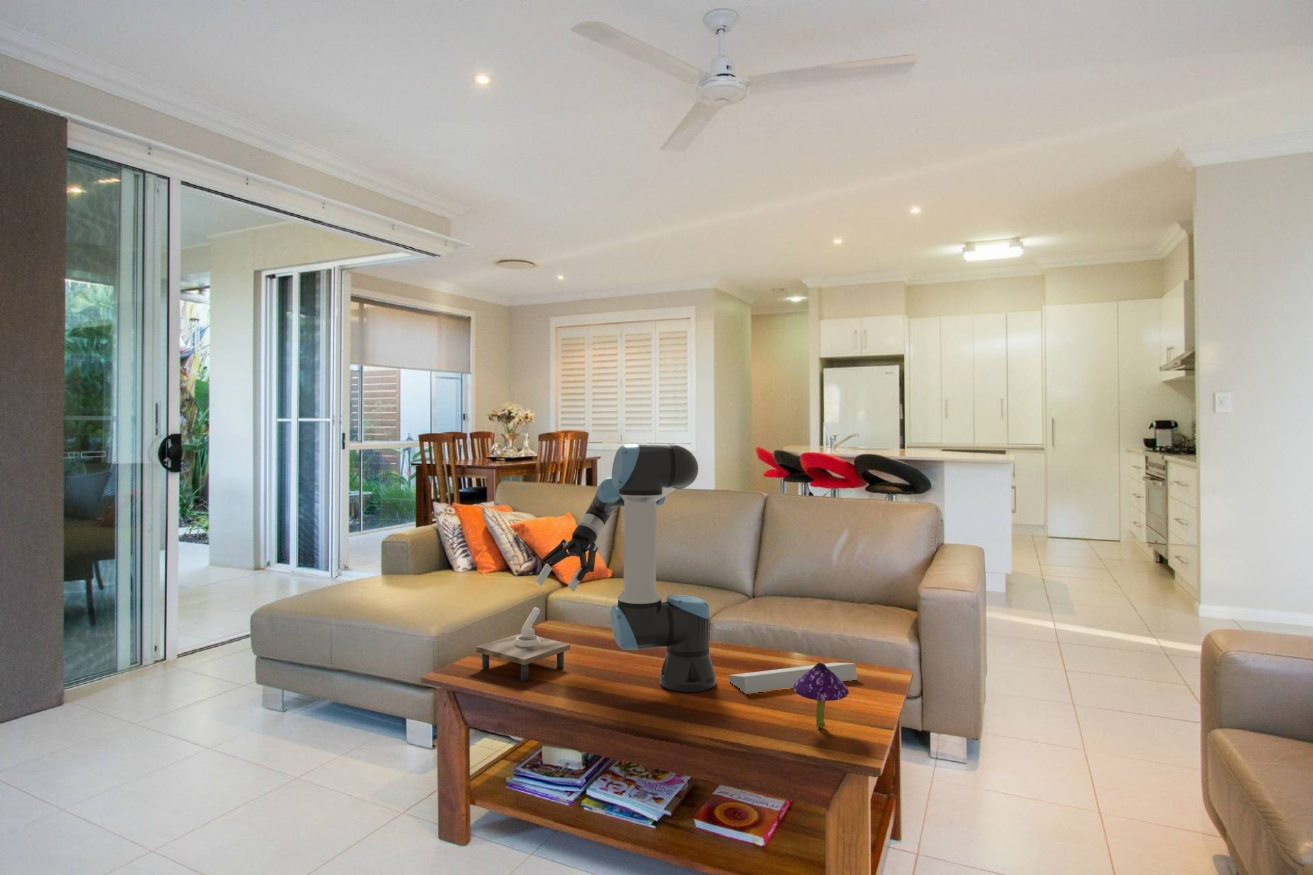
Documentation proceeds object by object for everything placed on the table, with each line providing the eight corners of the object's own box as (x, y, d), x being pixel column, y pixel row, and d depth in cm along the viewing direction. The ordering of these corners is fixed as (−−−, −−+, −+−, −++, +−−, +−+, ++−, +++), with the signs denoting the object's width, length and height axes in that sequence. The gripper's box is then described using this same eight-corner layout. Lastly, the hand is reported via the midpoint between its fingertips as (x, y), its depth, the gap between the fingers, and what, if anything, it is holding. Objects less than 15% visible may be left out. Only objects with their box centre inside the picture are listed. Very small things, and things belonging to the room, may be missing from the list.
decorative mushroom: (822, 744, 150) (822, 675, 150) (781, 725, 160) (781, 660, 160) (860, 731, 157) (860, 665, 157) (818, 713, 167) (819, 651, 167)
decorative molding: (730, 693, 189) (746, 696, 180) (728, 675, 190) (744, 676, 181) (837, 680, 200) (857, 681, 191) (834, 662, 201) (855, 663, 192)
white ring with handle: (558, 621, 207) (548, 612, 202) (537, 658, 202) (527, 650, 197) (538, 613, 211) (529, 604, 205) (518, 649, 206) (507, 641, 200)
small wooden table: (570, 666, 202) (570, 644, 202) (524, 683, 187) (524, 659, 187) (522, 654, 213) (522, 633, 213) (475, 669, 199) (475, 646, 199)
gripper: (623, 542, 218) (591, 598, 205) (564, 535, 232) (531, 588, 220) (612, 526, 214) (579, 583, 201) (553, 521, 228) (519, 573, 216)
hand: (554, 586), depth 211 cm, fingers open, 13 cm apart
